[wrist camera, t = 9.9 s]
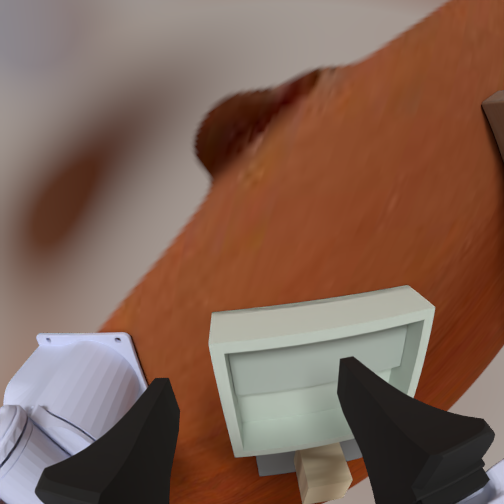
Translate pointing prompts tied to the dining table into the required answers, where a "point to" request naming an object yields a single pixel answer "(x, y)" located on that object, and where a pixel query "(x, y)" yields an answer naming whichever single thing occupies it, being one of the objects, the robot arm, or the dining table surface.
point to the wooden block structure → (496, 117)
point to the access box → (311, 363)
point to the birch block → (322, 473)
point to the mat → (285, 460)
